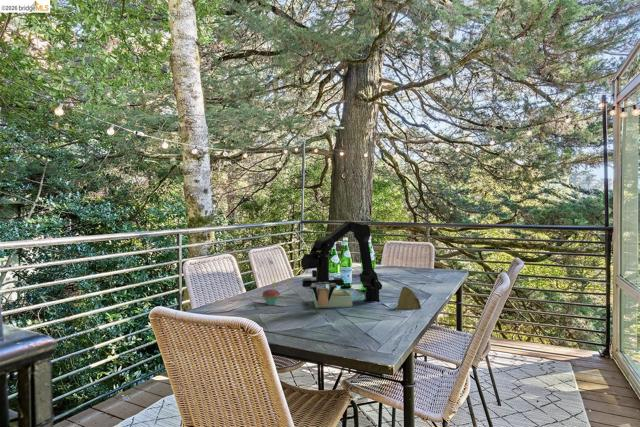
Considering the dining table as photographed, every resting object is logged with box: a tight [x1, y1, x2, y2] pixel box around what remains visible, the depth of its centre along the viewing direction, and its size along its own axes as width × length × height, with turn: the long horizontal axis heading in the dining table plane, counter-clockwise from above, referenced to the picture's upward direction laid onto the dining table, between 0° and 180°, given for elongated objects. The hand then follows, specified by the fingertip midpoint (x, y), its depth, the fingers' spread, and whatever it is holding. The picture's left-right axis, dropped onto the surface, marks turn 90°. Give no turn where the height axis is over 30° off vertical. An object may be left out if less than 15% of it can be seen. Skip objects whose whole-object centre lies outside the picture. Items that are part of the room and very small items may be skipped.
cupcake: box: [261, 280, 281, 306], centre depth 201 cm, size 9×8×12 cm
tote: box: [312, 289, 353, 309], centre depth 200 cm, size 18×14×5 cm
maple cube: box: [333, 291, 344, 297], centre depth 201 cm, size 5×5×5 cm
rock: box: [396, 286, 422, 310], centre depth 191 cm, size 11×9×10 cm
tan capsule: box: [317, 287, 329, 306], centre depth 186 cm, size 5×5×7 cm
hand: (323, 300), depth 186 cm, fingers closed on tan capsule, 5 cm apart
